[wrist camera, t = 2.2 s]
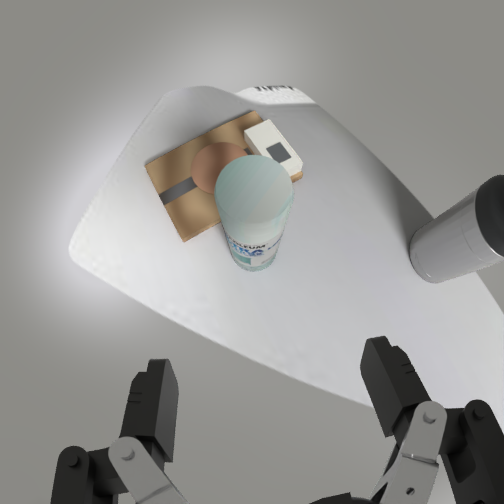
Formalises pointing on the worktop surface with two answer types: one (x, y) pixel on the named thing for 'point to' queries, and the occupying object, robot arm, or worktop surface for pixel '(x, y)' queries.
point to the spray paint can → (254, 208)
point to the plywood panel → (200, 174)
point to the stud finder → (272, 146)
